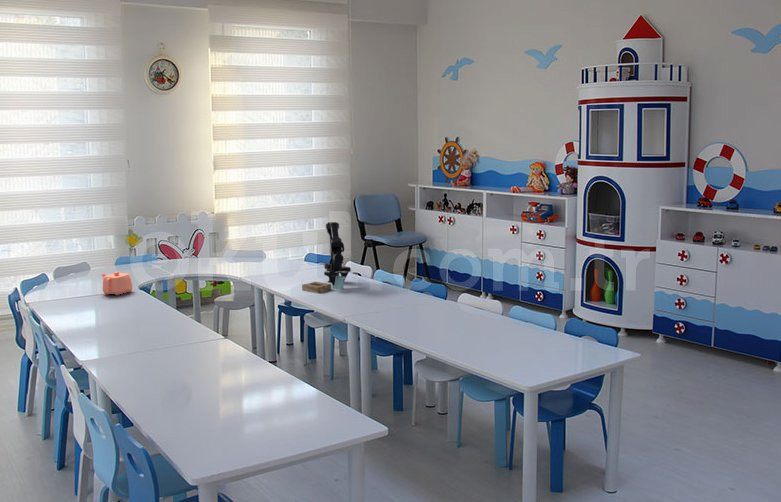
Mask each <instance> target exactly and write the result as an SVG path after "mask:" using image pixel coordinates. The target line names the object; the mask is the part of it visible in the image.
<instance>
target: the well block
mask: <svg viewBox="0 0 781 502" xmlns="http://www.w3.org/2000/svg"><path fill="white" fill-rule="evenodd" d="M331 290H332V283H328V282H327V283H326V282H321V281H313V282H308V283H304V284H301V291H304V292H305V291H306V292H309V293H313V294H314V293H315V294H320V293H324V292H327V291H331Z"/></svg>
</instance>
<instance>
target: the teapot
mask: <svg viewBox="0 0 781 502" xmlns="http://www.w3.org/2000/svg"><path fill="white" fill-rule="evenodd" d="M99 274H100V275H101V276H102V294H103V295H109V294H115V295H114V296H120V295H119V294H121V295H123V293H124V294H128V293H130V292H131V291H133V281H132V278H131V277H132V276H131V274H130V273H123V272H120V271H114V272H113V273H111V274H107V275H106V273H103V272H100V273H99ZM127 292H128V293H127Z"/></svg>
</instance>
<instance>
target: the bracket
mask: <svg viewBox="0 0 781 502" xmlns="http://www.w3.org/2000/svg"><path fill="white" fill-rule="evenodd" d="M335 276H336V278H335V284H334V286H333V285H332V284H331V289H334V290H335V289H336V290H339V291H341V290H344V286H345V285H344V283H345V281H343V279H345V280H346V278H345V277H343V276H341V275H339V276H337V275H335Z"/></svg>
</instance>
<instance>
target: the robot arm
mask: <svg viewBox="0 0 781 502" xmlns="http://www.w3.org/2000/svg"><path fill="white" fill-rule="evenodd" d="M325 229H326V232H327V234H328V236H329V247H330V249H329V250H330V252H329V253H330V257H329V258H330V259H329V260H328V263H325V264H324V265H323V266H324V270H325V271H324V273H323V274H324V276H326V277H328V280H327V283H330V284H331V286H332V285H333V286H334V284H335V278H336V276H335V275H337V276H343V277H345V279H343V281H344V282H345V280H346V278H347V276H348V274H349V273H350V272H351V271H352V269H351V267H350V266H343V264H344V259H345V258H344V255H343V253H344V252H345V245H344V242H343V241H342V238H341V237H340V236H339V229H340V223H339V222H337V221H329V222H327V223H325Z"/></svg>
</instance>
